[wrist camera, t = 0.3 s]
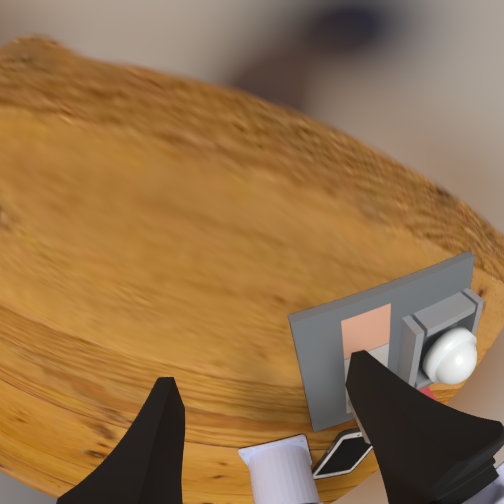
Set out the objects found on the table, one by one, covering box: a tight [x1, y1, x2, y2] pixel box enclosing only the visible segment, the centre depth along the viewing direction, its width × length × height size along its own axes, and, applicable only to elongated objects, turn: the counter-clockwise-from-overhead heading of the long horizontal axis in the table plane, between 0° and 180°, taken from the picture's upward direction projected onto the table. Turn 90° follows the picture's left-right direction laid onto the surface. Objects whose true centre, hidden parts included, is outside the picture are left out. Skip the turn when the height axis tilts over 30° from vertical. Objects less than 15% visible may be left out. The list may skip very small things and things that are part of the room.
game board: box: [288, 251, 484, 432], centre depth 24 cm, size 16×18×4 cm
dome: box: [423, 326, 477, 385], centre depth 20 cm, size 6×6×5 cm
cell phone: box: [312, 428, 373, 480], centre depth 33 cm, size 8×15×1 cm, turn 171°
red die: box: [420, 386, 437, 401], centre depth 28 cm, size 4×4×4 cm
